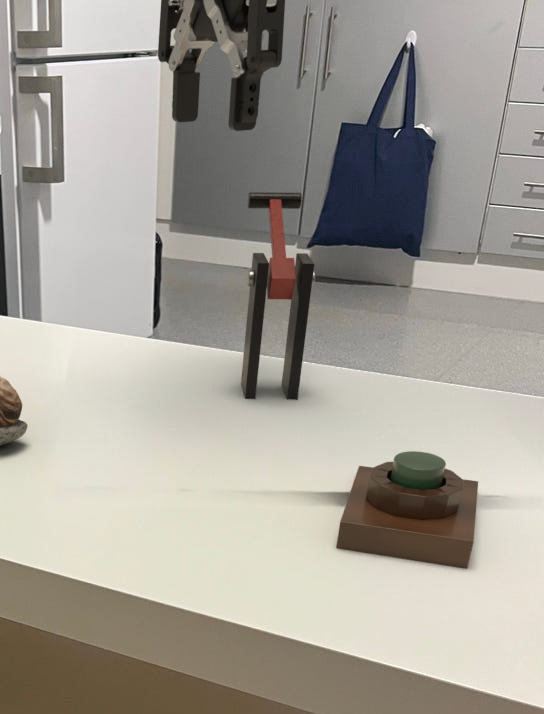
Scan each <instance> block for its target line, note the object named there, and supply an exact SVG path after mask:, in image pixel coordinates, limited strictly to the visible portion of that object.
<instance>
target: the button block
mask: <svg viewBox="0 0 544 714" xmlns="http://www.w3.org/2000/svg"><path fill="white" fill-rule="evenodd" d="M393 462H394V461H385V462H383V463H381V464H380V463H379V464H378V465H376V466H373V467H372V466H365V465H358V468H357V471H356V474H355V477H354V480H353V483H352V486H351V489H350V492H349V495H348V497H347V500H346V503H345V507H344V510H343V512H342V515H341V518H340V521H339V526H338V533H337V540H336V545H335V546H336V547H335V548H336V549H337V550H338V549H339V550H344V551H351V552H357V553H363V554H370V555H375V556H376V555H377V556H381V557H387V558H388V557H389V558H396V559H401V560H408V561H414V562H420V563H427V564H434V565H441V566H447V567H453V568H458V569H466V570H467V569H468V567H469V562H470V558H471V554H472V549H473V546H474V541H475V529H476V516H477V504H478V503H477V502H478V492H479V491H478V489H479V481H478V480H470V479H463V478H462V477H461V476H459V475H458V474H457V473H455V472H454V471H453V470H451V469H448V468H445V471H444V475H443V480H442V485H441V487H440V488H438V489H427V490H419V489H412V488H405V487H403V486H400V485H397V484H395V483H392V482H391V481H390V478H391V473H392V467H393Z"/></svg>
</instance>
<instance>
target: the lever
mask: <svg viewBox="0 0 544 714" xmlns="http://www.w3.org/2000/svg"><path fill="white" fill-rule="evenodd" d="M302 196H303V194H302V192H292V191H291V192H289V191H288V192H287V191H285V192H283V191H282V192H281V191H279V192H277V191H276V192H275V191H274V192H273V191H271V192H270V191H264V192H263V191H261V192H260V191H259V192H257V191H250V192H248V196H247V209H267V210H268V221H269V233H270V248H271V257H270V258H269V260H268V262H269V270H268V279H267V289H266V296H267V300H291V299H292V296H293V291H294V286H295V281H296V273H295V263H296V261H295V258H294V257H287V251H286V239H285V229H284V227H285V226H284V217H283V209H285V210H289V209H291V210H300V209H301V207H302V201H303V197H302Z"/></svg>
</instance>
